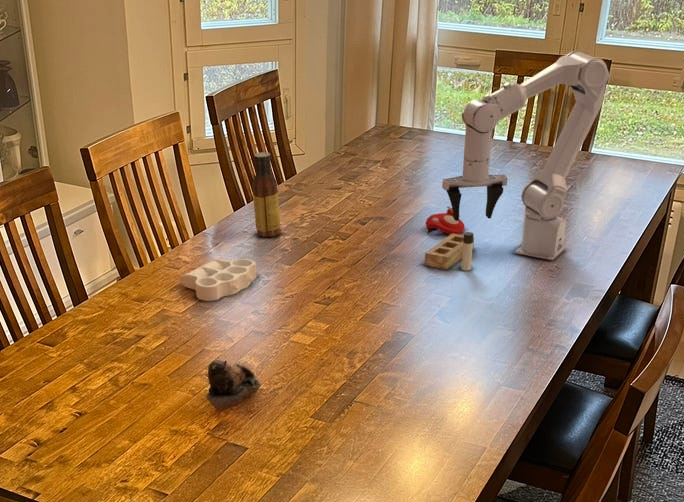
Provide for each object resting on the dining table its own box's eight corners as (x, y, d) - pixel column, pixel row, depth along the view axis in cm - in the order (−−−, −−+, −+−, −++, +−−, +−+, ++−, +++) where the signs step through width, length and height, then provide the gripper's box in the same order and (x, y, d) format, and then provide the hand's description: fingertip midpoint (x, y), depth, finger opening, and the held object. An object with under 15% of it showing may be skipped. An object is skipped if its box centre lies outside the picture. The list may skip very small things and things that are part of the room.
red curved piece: (470, 230, 248) (433, 224, 246) (464, 245, 251) (427, 239, 249) (461, 204, 256) (424, 197, 254) (455, 218, 259) (419, 212, 257)
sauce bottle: (282, 229, 255) (279, 150, 243) (279, 238, 250) (276, 158, 238) (256, 229, 255) (252, 150, 244) (253, 238, 250) (249, 157, 239)
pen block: (473, 249, 241) (474, 237, 239) (446, 269, 231) (447, 257, 229) (451, 245, 244) (452, 233, 242) (424, 265, 234) (425, 252, 232)
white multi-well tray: (221, 265, 236) (270, 278, 229) (171, 291, 224) (222, 306, 217) (220, 251, 234) (270, 264, 227) (169, 277, 222) (221, 291, 215)
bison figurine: (236, 383, 188) (233, 334, 183) (268, 391, 186) (265, 342, 180) (200, 411, 180) (195, 361, 174) (233, 420, 177) (229, 370, 171)
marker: (472, 268, 232) (475, 232, 227) (468, 271, 230) (471, 236, 225) (463, 266, 233) (466, 231, 228) (459, 269, 231) (462, 234, 226)
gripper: (502, 150, 225) (497, 210, 233) (440, 155, 224) (437, 214, 232) (512, 159, 219) (506, 220, 227) (448, 164, 218) (444, 225, 226)
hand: (472, 218), depth 229 cm, fingers open, 7 cm apart
